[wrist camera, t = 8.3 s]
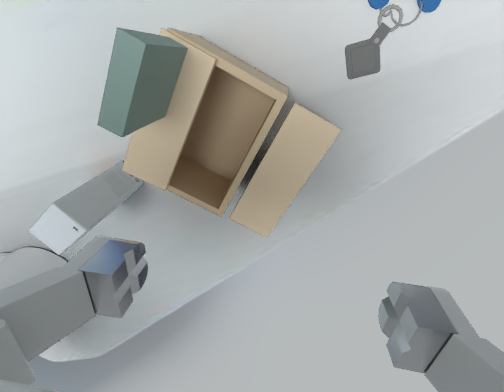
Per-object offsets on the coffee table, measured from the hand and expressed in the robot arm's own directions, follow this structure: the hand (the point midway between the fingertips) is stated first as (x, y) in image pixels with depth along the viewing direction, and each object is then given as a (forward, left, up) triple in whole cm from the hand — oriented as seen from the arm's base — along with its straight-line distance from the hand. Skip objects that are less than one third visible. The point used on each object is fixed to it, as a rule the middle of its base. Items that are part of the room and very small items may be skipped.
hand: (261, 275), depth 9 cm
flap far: (-4, -2, -17) cm, 18 cm away
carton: (-4, +7, -25) cm, 26 cm away
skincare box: (-19, +16, -25) cm, 35 cm away
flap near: (-4, +10, -17) cm, 20 cm away
